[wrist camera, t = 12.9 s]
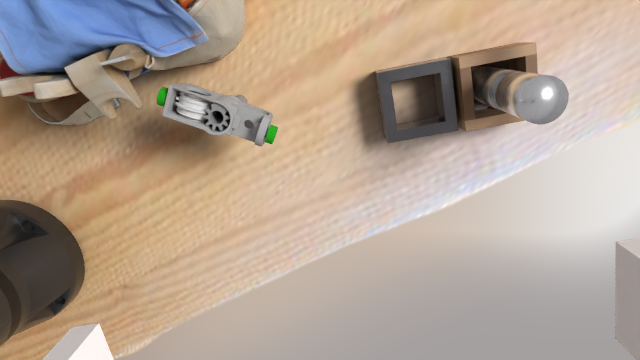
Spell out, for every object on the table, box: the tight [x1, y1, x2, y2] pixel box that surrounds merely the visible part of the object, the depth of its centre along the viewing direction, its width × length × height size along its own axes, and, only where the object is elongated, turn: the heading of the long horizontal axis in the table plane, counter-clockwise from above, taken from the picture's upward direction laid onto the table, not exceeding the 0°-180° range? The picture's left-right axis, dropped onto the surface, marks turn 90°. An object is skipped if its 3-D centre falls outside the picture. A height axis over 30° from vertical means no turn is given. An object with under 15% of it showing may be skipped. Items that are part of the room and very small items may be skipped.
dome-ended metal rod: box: [472, 67, 568, 124], centre depth 39 cm, size 4×4×13 cm
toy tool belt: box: [0, 0, 246, 125], centre depth 37 cm, size 26×16×16 cm, turn 115°
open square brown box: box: [448, 43, 538, 131], centre depth 43 cm, size 7×7×4 cm
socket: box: [375, 58, 458, 143], centre depth 44 cm, size 7×7×3 cm
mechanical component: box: [157, 83, 278, 147], centre depth 41 cm, size 3×10×10 cm, turn 70°
